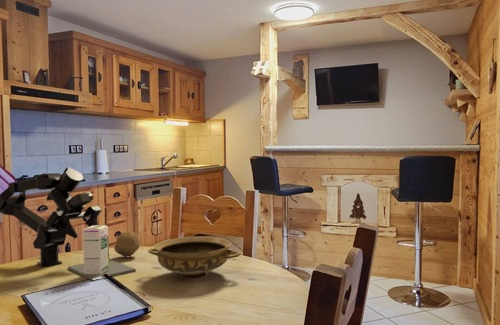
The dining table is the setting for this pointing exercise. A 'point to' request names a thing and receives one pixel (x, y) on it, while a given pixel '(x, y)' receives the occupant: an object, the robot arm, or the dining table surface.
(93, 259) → the syrup box
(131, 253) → the natural sponge
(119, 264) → the rubber mat
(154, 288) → the dining table surface
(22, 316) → the dining table surface
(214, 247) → the ceramic bowl
